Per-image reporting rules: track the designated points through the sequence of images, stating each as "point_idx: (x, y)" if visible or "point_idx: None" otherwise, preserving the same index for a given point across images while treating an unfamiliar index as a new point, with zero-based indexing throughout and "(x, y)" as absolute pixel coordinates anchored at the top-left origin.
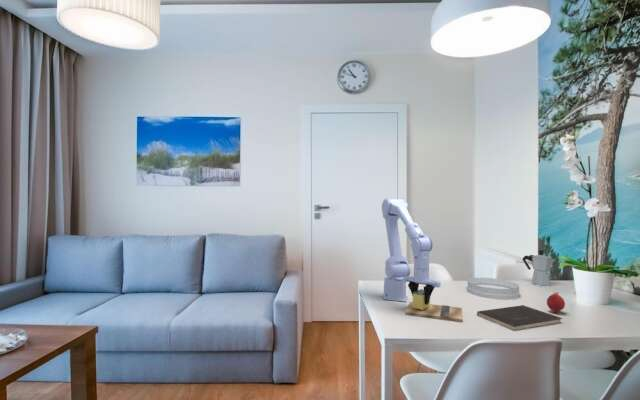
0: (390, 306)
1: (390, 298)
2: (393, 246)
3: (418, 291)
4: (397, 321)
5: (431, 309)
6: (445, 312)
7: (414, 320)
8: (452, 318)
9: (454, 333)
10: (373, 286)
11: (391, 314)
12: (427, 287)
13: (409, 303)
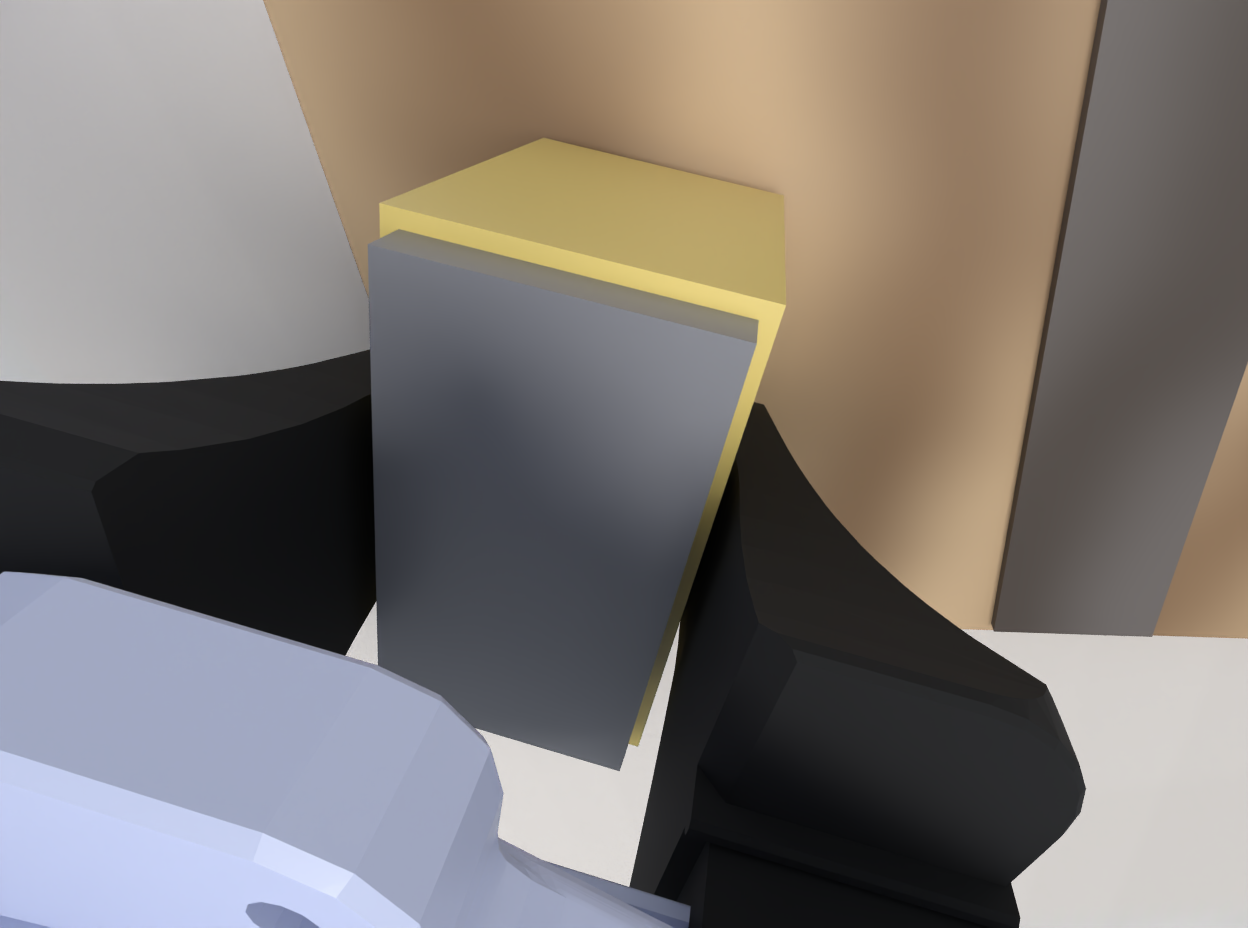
0: (158, 343)
1: None
2: None
3: (449, 606)
4: (511, 765)
5: (829, 343)
6: (1129, 452)
7: (652, 710)
8: (1204, 630)
9: (1103, 891)
10: None
11: (365, 625)
12: None
13: (323, 148)
